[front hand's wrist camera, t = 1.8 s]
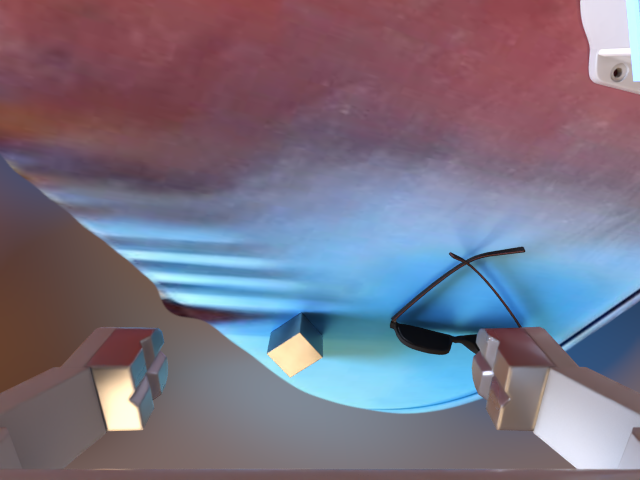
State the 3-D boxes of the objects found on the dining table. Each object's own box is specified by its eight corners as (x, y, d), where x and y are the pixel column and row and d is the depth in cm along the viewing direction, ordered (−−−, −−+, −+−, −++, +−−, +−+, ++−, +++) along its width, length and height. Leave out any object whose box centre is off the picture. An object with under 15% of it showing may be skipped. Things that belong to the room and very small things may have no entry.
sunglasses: (550, 238, 46) (576, 256, 42) (516, 342, 52) (535, 368, 47) (406, 226, 46) (416, 242, 41) (387, 332, 51) (394, 357, 46)
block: (270, 332, 51) (266, 353, 47) (301, 312, 50) (299, 332, 46) (292, 355, 53) (290, 377, 49) (322, 335, 52) (322, 357, 48)
